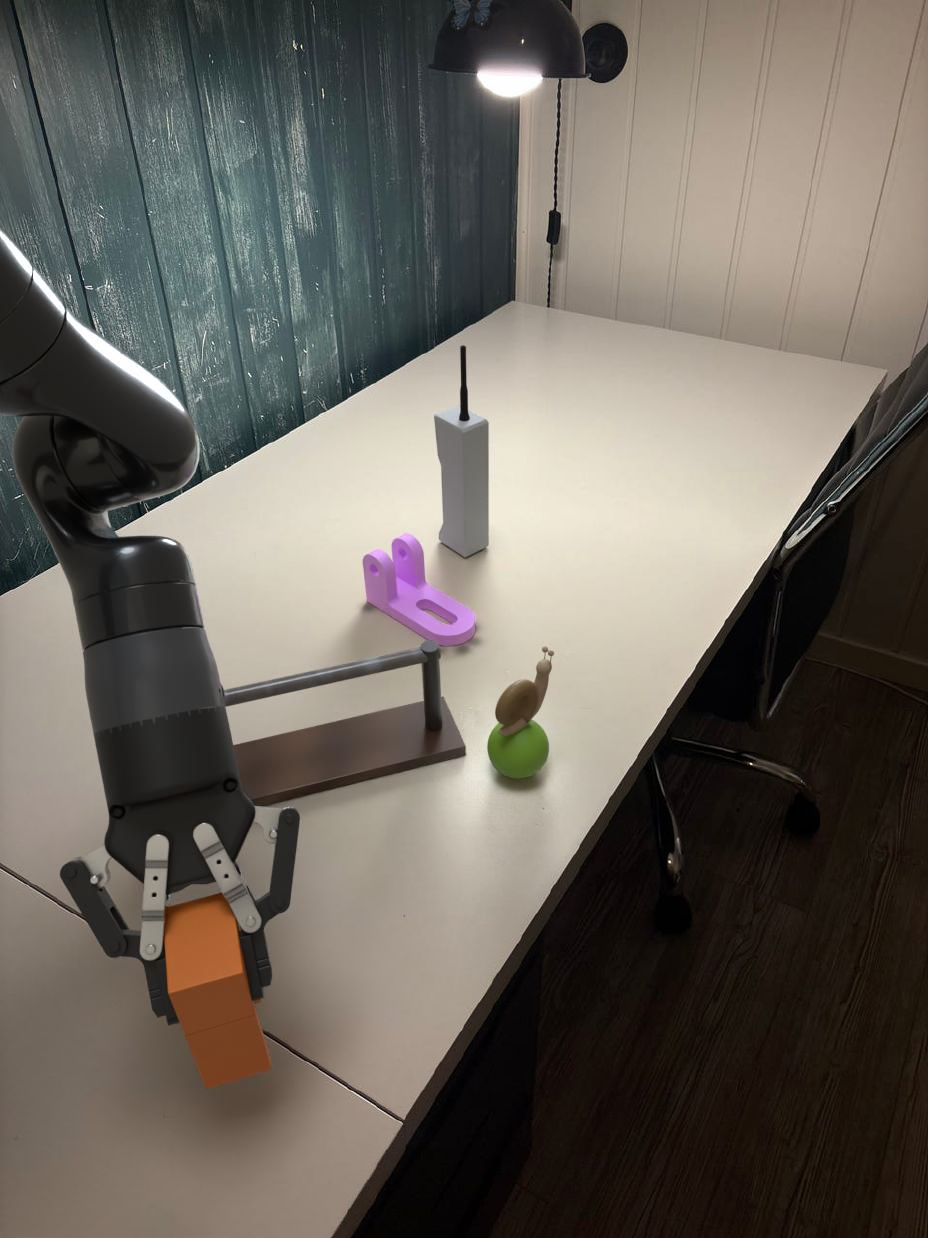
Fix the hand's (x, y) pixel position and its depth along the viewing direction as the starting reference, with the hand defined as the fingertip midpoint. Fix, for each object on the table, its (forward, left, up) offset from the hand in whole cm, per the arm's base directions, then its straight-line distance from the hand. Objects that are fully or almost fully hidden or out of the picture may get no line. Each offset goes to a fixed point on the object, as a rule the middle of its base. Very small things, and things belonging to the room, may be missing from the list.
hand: (217, 1006), depth 52 cm
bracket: (+32, +41, -12) cm, 54 cm away
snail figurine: (+30, +17, -12) cm, 37 cm away
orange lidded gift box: (0, +2, -7) cm, 7 cm away
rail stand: (+15, +26, -12) cm, 32 cm away
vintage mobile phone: (+42, +51, -12) cm, 67 cm away
